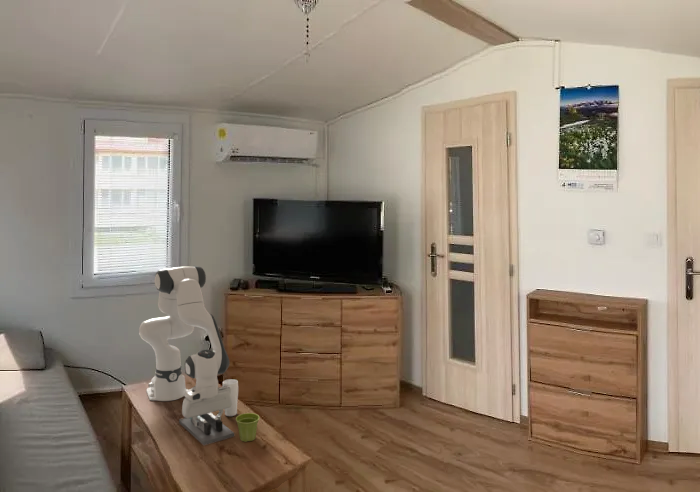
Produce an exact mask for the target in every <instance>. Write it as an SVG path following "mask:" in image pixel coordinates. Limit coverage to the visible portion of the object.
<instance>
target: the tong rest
mask: <svg viewBox="0 0 700 492" xmlns="http://www.w3.org/2000/svg"><path fill="white" fill-rule="evenodd" d="M199 416H201V417H202V415H199ZM202 418H203V417H202ZM178 420H179V421H178V423H179V425H181V426H182V427H183V428H184V429H185V430H186V431H187V432H188V433H189V434H191V436H193V437H194V438H195V439H196V440H197V441H198V442H199V443H200V444H201V445H202V446H207V445H209V444H213V443H216V442H217V443H218V442H220V441H223V440H227V439H230V438H235V432H234V431H233V430H231V429H230V428H229V427H227V426H226V425H225V424H224V423H222V428H223V431H221V432H218V431H217V430H216V429H215V428H214V427H212V426H211V435H206V434H205V433H204V432H203V431H202V430H201V429H199V428H198V427H197V426H196V427H195V426H194V423H193V422H192V420H191V419H190V418H185V417H183V418H179V419H178Z"/></svg>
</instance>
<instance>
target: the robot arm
mask: <svg viewBox="0 0 700 492" xmlns="http://www.w3.org/2000/svg"><path fill="white" fill-rule="evenodd" d="M154 276H155V277H154V285H155V288H156V290H157V291H158V292H159V294H158V300H157V307H158V309H159V311H160V312H162V313H163V314H165V315H166V316H161V317H153V318H149V319H147V320H143V321H142V322H141V323H140V325H139V328H138V334H139V336H140V338H141V339H142V340H143V341H144V342H146V343H147V344H149V345H150V347H151V348H152V349H153V351H154V354H155V364H156V366H155V367H156V368H155V370H154V376H153V377H152V378H151V379H150V380H151V381H150V382H148V387H147V388H146V391H145V392H146V394H147V396H148V400H149V401H159V402H171V401H175V400H179V399H181V398H183V397H184V398H183V400H182V401H183V402H182V407H181V408H182V409H181V414H182V416H183V418H192V419H193V421H194V426H195V427H196V426H199V421H198V420H197V421H196V418H197V416H199V415H203V414H207V413H214V412H218V414H217V415H215V416H216V417H217V418H218V419H220V420H221V421H222V415H223V414H224V410H225V409H226V408H230V407H231V405H232V403H231V396H230V394H231V389H230V387H228V386H224V387H223V386H219V380H218V375H223V374H224V373H226V372H227V370H228V368H229V367H230V358H229V356H228V352H227V351H226V349H225V345H224V343H223V339H222V335H221V332H220V330H219V327H218V324H217V321H216V319H215V316H214V315H213V314H211V313H209V312H208V310H207V308H206V306H205V301H204V296H203V293H202V288H203V287H204V286H205V284H206V280H207V275H206V272H205V269H204V268H203V267H201V266H198V265H193V266H187V265H186V266H176V267H169V268H162V269H158V270H157V271H156V273H155V275H154ZM195 327H197V328H200V329H203V330H204V331H205V332H206V333H207V335H208V338H209V341H210V345H211V348H212V349H201V350H198V351H197V352H196V354H195V353H194V354H191V355H188V357H186V359H185V361H184V371H185V372H184V373H185V375H186V376H188V377H190V378H192V379H195V380H196V381H195V385H194V386H193V387H191V388H190V389H188V388H186V377H185V375H183V373H182V372H183V371H182V370H183V368H182V365H181V364H182V363H181V361H182V360H181V350H180V349H179V348H178V347H177V346H174V345H171V344H169V342H168V341H169V340H173V339H180V338H185V337H186V336H190V335H191V334H193V332H194V330H195Z"/></svg>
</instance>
